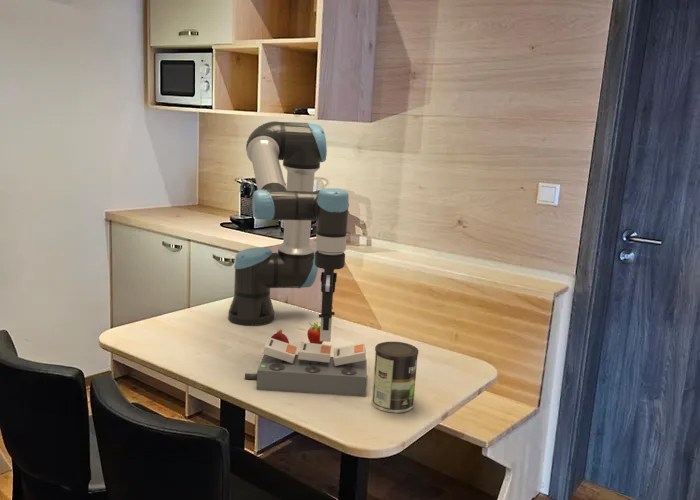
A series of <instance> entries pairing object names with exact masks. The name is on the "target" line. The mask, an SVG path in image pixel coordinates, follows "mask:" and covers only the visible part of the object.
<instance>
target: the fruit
mask: <svg viewBox="0 0 700 500" xmlns="http://www.w3.org/2000/svg"><path fill="white" fill-rule="evenodd" d="M309 325H310V326H311V327H309V329H308V330H307V339H308V343H315V344H323V343H325V341H320V328H321V325H319V324H318V323H317V322H314V323H313V324H312V323H309Z"/></svg>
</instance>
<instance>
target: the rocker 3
mask: <svg viewBox="0 0 700 500" xmlns="http://www.w3.org/2000/svg"><path fill="white" fill-rule="evenodd" d="M333 357H334V358H333V359H334V364H335V366H337V365H343V364H348V363H353V362H359V361H364V360H366V359H367V349H366V345H365V343H364V342H363V343H362V342H361V343H359V344H358V343H357V344H351V345H347V346H341V347H336V348H334V350H333Z"/></svg>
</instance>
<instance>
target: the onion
mask: <svg viewBox="0 0 700 500" xmlns="http://www.w3.org/2000/svg"><path fill="white" fill-rule="evenodd" d="M270 338H273V339H276V340H279V341H282V342H286V343H289V344H290V340H289V338H288V337H287V335H286V334H285V333H283V330H281V329H278V330H277V331H276V333H274V334H273V335H271V336H270Z"/></svg>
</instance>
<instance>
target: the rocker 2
mask: <svg viewBox="0 0 700 500" xmlns="http://www.w3.org/2000/svg"><path fill="white" fill-rule="evenodd" d="M332 347H333V346H332V344H331V345H330V344H325V343H324V344H323V343H322V344H315V343H310V342H305V341H301V342H300V346H299V349H298V354H297V355H298V359H302V360H311V361H319V362H328V363H329V362H330V357H331V353H332Z"/></svg>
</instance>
